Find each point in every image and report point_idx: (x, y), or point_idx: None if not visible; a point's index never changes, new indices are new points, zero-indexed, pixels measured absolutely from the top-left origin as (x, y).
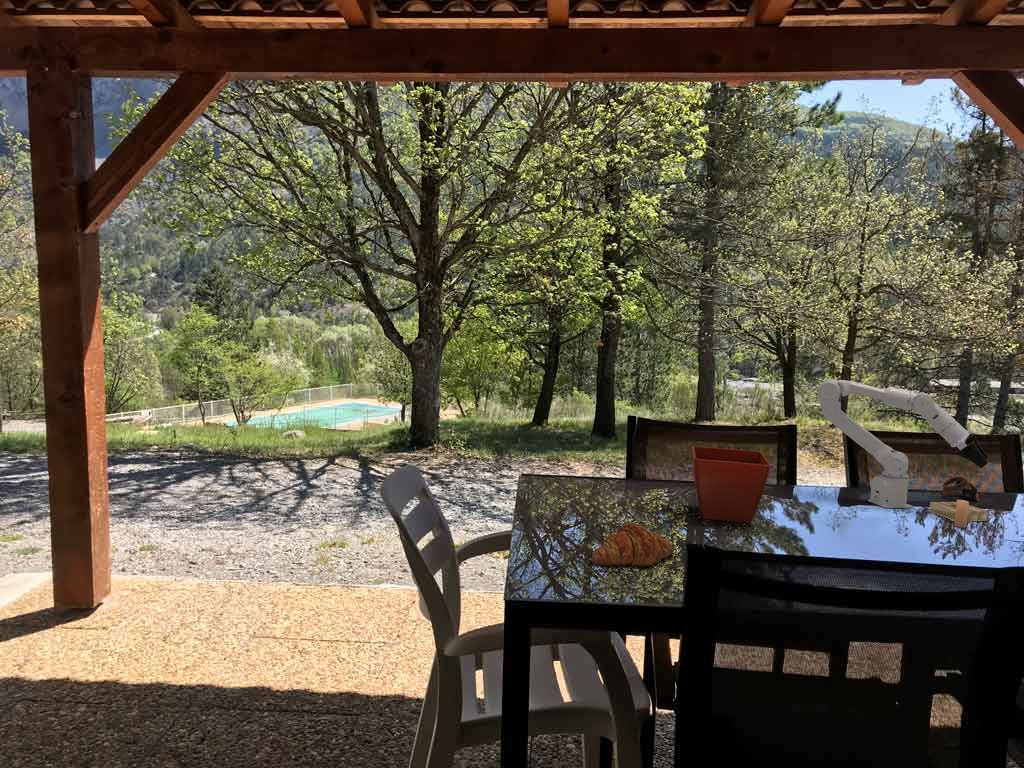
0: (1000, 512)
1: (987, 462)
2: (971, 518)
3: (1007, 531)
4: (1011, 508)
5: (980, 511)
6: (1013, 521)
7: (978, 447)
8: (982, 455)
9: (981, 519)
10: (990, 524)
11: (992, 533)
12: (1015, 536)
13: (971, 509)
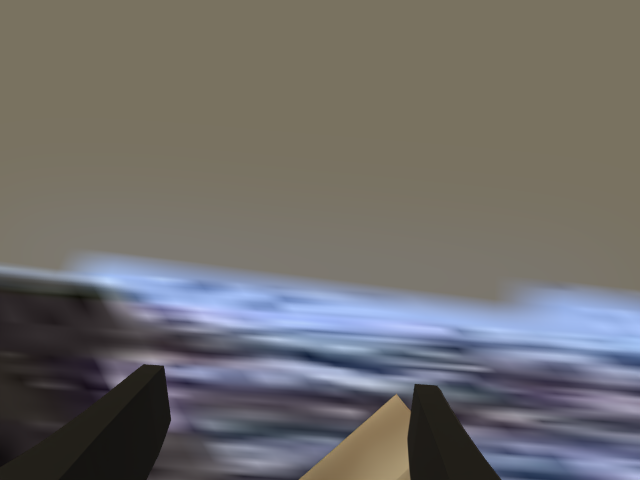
0: (158, 329)
1: (418, 386)
2: None
3: (518, 329)
4: (56, 283)
5: None
6: (303, 294)
7: (85, 468)
8: (144, 415)
9: None
10: None
11: (618, 392)
12: (586, 307)
13: None
